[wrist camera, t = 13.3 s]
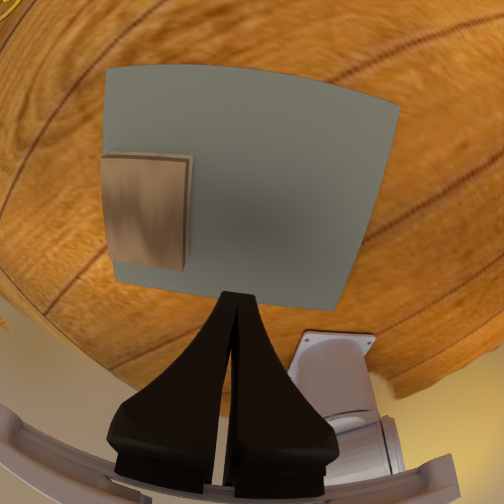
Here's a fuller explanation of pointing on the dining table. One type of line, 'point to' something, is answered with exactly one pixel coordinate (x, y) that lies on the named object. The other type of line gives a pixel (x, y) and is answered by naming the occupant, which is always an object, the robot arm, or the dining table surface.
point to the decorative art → (9, 9)
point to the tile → (147, 207)
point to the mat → (257, 175)
